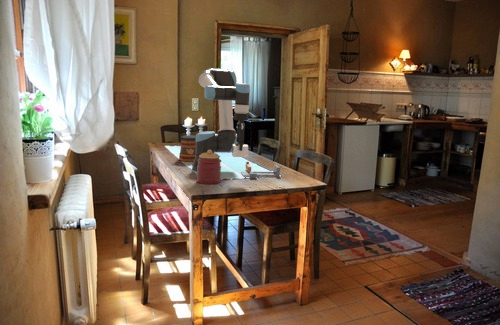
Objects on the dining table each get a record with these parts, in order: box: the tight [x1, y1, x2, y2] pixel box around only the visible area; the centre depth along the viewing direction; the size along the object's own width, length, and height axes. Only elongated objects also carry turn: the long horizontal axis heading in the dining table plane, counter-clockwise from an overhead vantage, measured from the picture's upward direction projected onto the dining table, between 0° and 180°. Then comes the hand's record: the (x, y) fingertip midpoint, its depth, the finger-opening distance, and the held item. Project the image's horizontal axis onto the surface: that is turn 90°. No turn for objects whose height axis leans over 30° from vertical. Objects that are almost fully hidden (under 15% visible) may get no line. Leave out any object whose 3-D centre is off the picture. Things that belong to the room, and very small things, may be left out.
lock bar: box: [245, 161, 252, 172], centre depth 240 cm, size 2×12×4 cm, turn 9°
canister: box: [196, 150, 222, 185], centre depth 208 cm, size 13×13×18 cm
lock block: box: [231, 144, 249, 158], centre depth 210 cm, size 8×6×7 cm
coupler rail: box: [240, 164, 281, 180], centre depth 230 cm, size 22×16×6 cm
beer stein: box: [178, 134, 197, 163], centre depth 267 cm, size 19×15×20 cm
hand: (239, 155), depth 211 cm, fingers closed on lock block, 5 cm apart
